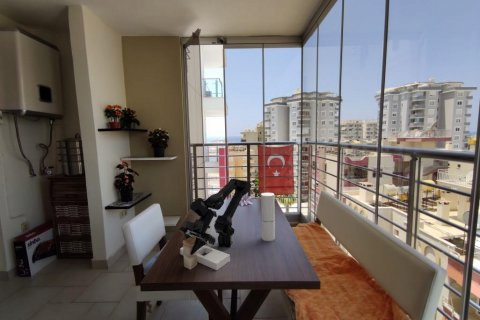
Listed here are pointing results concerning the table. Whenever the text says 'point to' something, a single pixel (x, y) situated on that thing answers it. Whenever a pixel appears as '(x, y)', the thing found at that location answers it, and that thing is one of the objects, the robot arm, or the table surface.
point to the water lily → (244, 199)
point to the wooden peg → (189, 259)
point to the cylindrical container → (268, 216)
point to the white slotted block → (211, 257)
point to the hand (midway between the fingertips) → (187, 253)
